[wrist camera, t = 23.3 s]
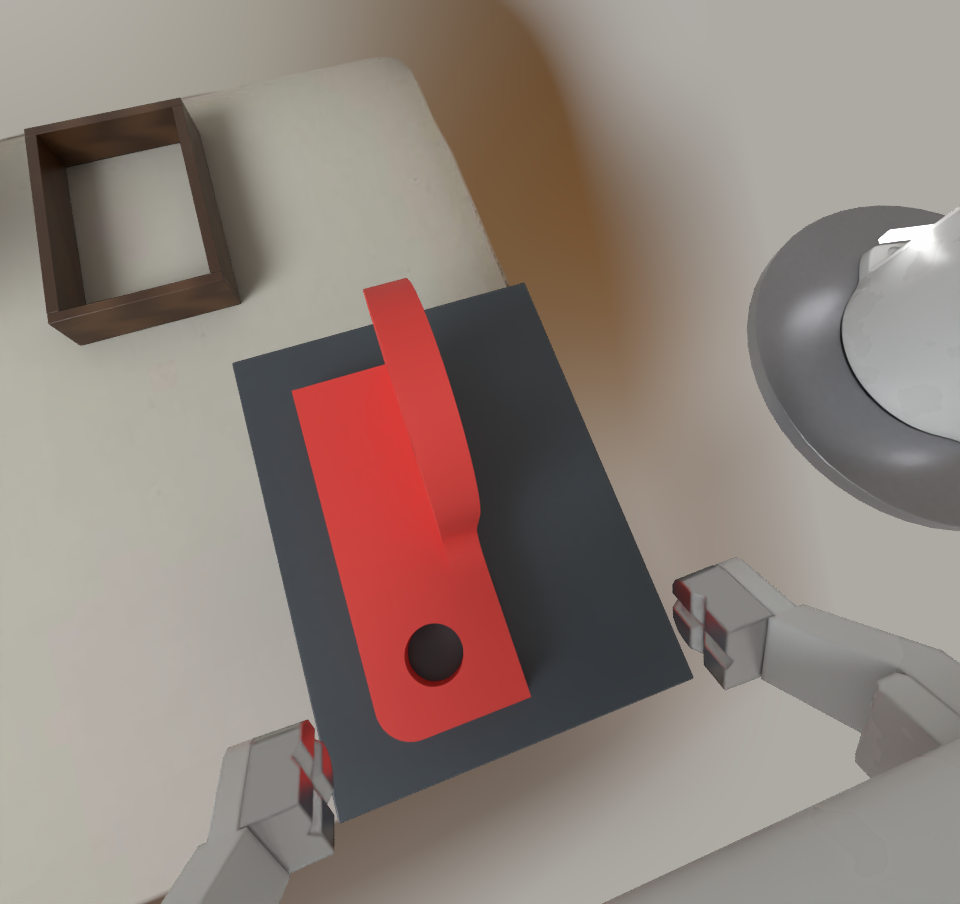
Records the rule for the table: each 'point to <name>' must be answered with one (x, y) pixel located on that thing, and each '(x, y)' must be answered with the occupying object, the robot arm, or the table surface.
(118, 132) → the open rectangular wooden frame
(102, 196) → the table surface
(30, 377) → the table surface
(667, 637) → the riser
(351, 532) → the bracket
